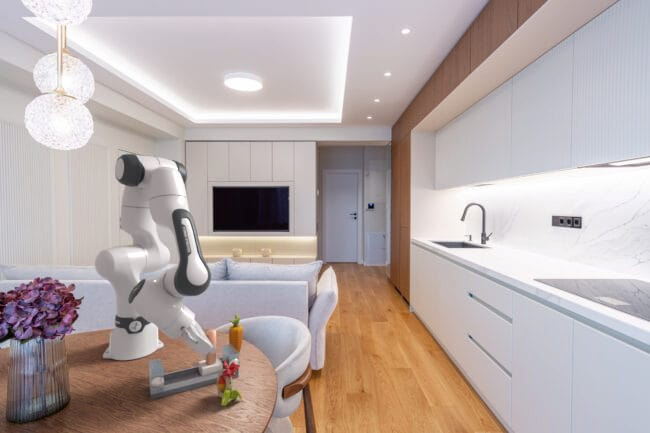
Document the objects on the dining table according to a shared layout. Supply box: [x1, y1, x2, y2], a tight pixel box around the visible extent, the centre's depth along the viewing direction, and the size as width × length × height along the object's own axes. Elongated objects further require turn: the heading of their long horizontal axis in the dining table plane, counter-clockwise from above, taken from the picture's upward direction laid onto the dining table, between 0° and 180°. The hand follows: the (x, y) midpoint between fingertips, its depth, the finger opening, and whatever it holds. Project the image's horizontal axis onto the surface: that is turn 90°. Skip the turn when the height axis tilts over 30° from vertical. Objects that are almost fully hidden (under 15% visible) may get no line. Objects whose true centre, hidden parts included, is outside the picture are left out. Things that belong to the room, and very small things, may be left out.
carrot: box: [228, 314, 244, 354], centre depth 111 cm, size 5×5×15 cm
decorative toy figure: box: [216, 360, 243, 408], centre depth 87 cm, size 6×11×9 cm
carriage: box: [198, 328, 223, 376], centre depth 98 cm, size 6×6×13 cm
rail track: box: [148, 344, 240, 401], centre depth 95 cm, size 8×24×8 cm, turn 123°
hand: (213, 348), depth 98 cm, fingers closed on carriage, 3 cm apart
